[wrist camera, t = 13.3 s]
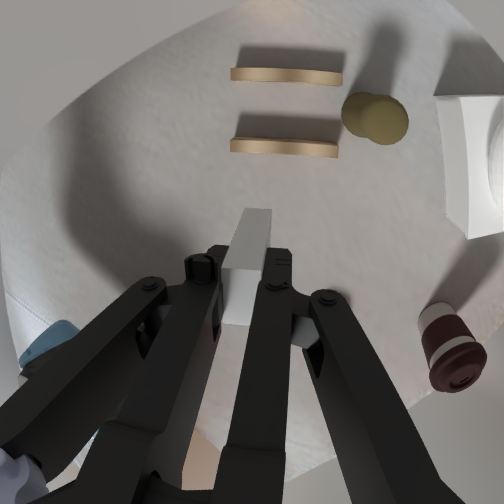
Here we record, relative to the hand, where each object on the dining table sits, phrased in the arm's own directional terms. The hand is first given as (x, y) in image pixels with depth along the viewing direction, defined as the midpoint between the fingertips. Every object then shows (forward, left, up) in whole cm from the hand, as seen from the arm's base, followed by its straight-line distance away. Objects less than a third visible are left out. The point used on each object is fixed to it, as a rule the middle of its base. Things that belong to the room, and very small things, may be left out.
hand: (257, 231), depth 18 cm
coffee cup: (+30, -25, -25) cm, 46 cm away
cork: (+11, +6, -25) cm, 28 cm away
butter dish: (+31, +5, -25) cm, 40 cm away
